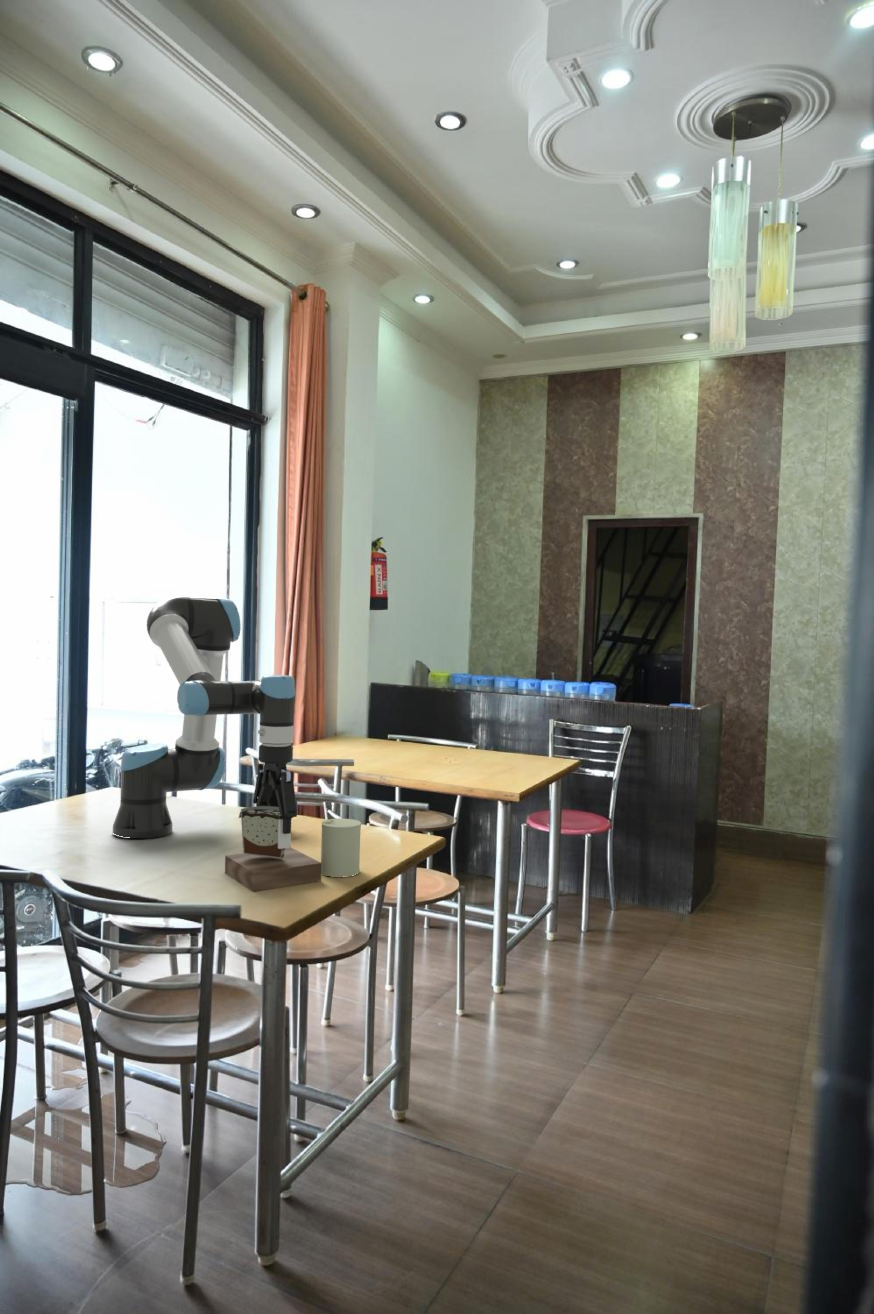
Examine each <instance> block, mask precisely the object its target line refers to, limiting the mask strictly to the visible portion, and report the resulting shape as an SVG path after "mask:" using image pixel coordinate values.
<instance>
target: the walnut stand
mask: <svg viewBox="0 0 874 1314" xmlns="http://www.w3.org/2000/svg"><path fill="white" fill-rule="evenodd" d="M224 861H225V862H224V874H226V875H227V876H229V877H230V878H231V879H233V880H234V881H236V882H237V883H239V884H241V885H242V886H244V887H246V888H247V889H249V890H250V891H252V892H258V891H259V892H260V891H264V890H271V889H272V890H273V889H278V888H286V887H290V886H291V885H292V886H296V884H298V885H303V883H304V884H310V883H315V882H314V881H317V882H320V881H319V880H321V881H322V874H321V861H318V860H316V859H315V858H312V857H310V856H309V855H306V854H305V853H303V852H301V851H299V850H297V849H295V848H294V847H293V848H292V847H290V848H285V852H284V857H283V858H282V859H280V858H272V857H264V856H256V855H248V854H243V852H241V853H231V854H225V859H224ZM309 882H310V883H309ZM292 886H291V887H292Z"/></svg>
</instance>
